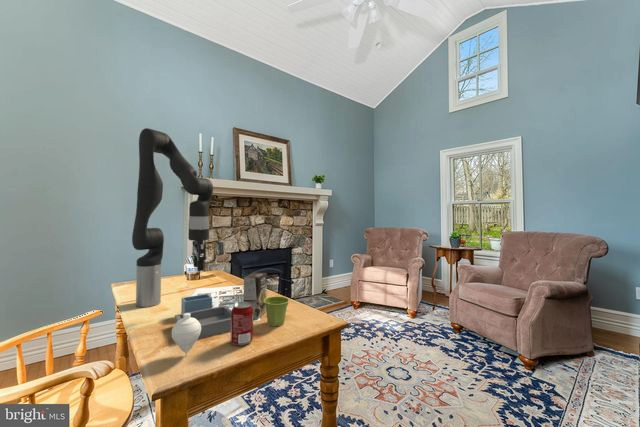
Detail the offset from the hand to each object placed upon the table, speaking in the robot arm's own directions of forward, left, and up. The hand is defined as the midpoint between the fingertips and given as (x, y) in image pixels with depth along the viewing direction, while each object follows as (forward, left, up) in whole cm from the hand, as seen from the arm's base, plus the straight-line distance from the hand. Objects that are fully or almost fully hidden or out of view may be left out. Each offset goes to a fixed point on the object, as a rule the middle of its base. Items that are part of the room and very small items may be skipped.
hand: (198, 268), depth 110 cm
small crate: (0, 0, -19) cm, 19 cm away
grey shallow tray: (+14, 0, -18) cm, 23 cm away
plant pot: (+25, +22, -19) cm, 38 cm away
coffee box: (+13, +19, -19) cm, 29 cm away
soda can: (+32, +6, -19) cm, 37 cm away
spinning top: (+31, -10, -19) cm, 37 cm away
